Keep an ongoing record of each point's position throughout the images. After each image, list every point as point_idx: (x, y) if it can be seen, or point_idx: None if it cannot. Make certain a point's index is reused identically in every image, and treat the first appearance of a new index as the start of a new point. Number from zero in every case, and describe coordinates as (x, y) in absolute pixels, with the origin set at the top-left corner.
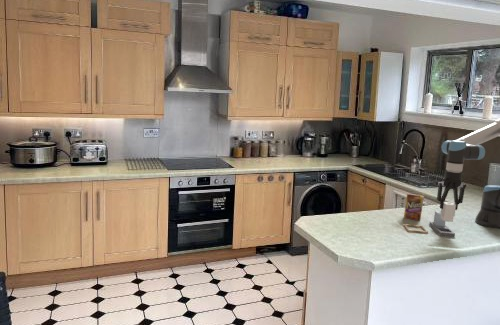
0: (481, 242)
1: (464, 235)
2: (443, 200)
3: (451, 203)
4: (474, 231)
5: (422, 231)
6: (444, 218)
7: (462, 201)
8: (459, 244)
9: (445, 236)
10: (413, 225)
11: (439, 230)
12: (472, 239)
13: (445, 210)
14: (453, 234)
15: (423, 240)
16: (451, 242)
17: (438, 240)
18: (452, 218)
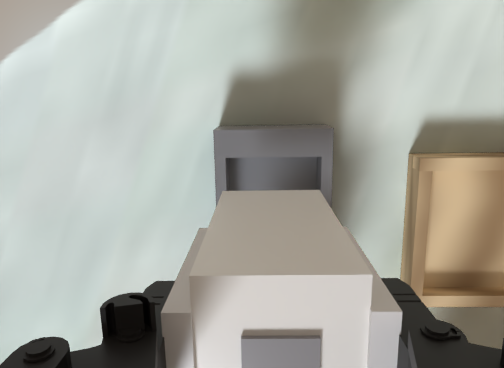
0: (23, 117)
1: (108, 244)
2: (446, 355)
3: (232, 364)
4: (8, 355)
5: (467, 157)
6: (320, 196)
7: (3, 362)
8: (215, 7)
9: (286, 126)
10: (485, 294)
11: (326, 177)
12: (73, 168)
13: (340, 230)
14: (225, 130)
15: (493, 14)
16: (266, 38)
17: (360, 55)
18: (228, 201)
